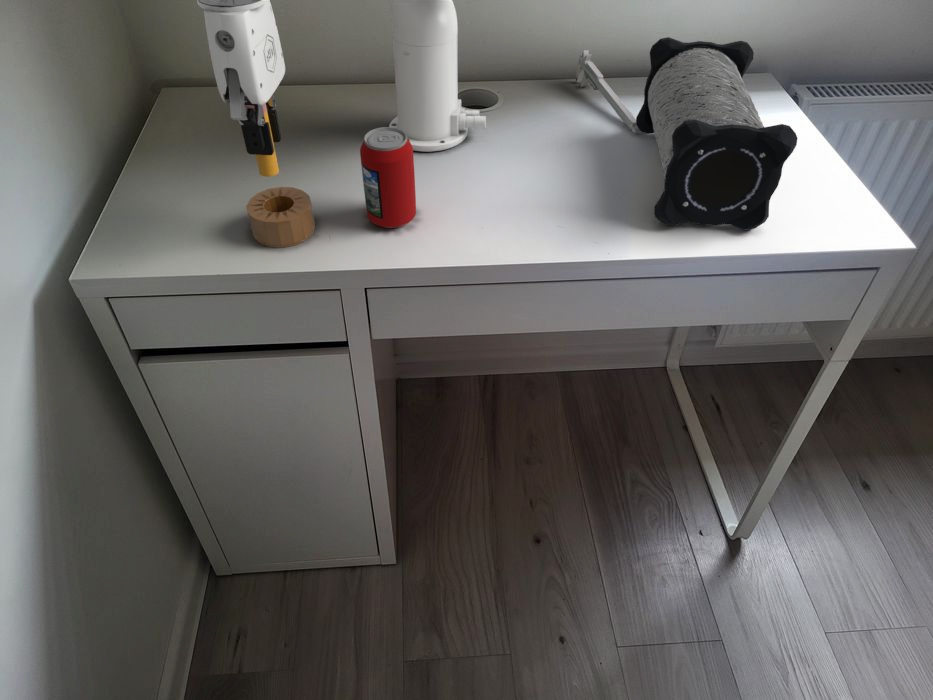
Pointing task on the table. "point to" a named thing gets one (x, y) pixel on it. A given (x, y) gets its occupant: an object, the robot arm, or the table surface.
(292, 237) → the brown wooden ring
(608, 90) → the caliper
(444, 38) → the robot arm
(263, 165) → the pencil
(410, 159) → the beverage can
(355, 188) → the table surface
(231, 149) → the table surface
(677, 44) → the speaker
